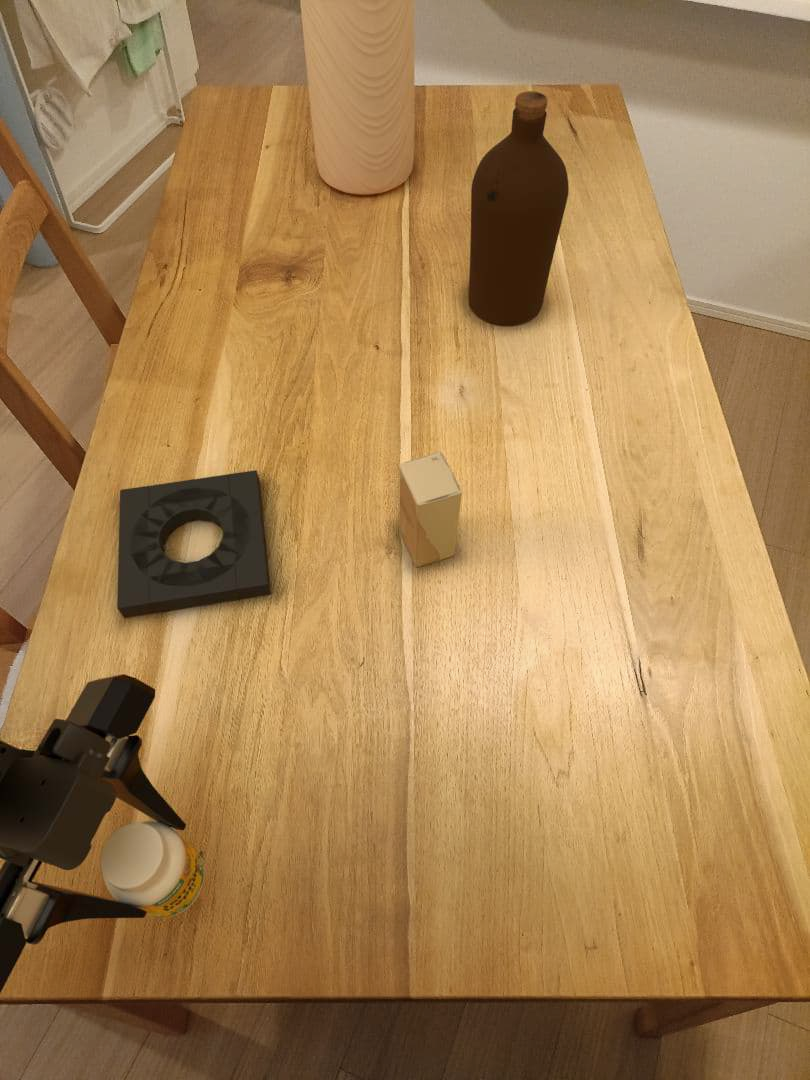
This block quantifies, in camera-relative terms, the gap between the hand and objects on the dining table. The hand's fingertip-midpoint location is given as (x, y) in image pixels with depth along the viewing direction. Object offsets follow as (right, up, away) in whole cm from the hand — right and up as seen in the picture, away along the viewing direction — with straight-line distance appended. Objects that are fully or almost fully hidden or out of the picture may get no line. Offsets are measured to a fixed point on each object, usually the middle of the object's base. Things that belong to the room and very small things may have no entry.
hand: (163, 870), depth 51 cm
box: (+18, +22, +26) cm, 39 cm away
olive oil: (+29, +52, +46) cm, 76 cm away
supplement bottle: (-1, -3, +6) cm, 7 cm away
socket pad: (-5, +21, +26) cm, 34 cm away
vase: (+10, +76, +62) cm, 99 cm away
